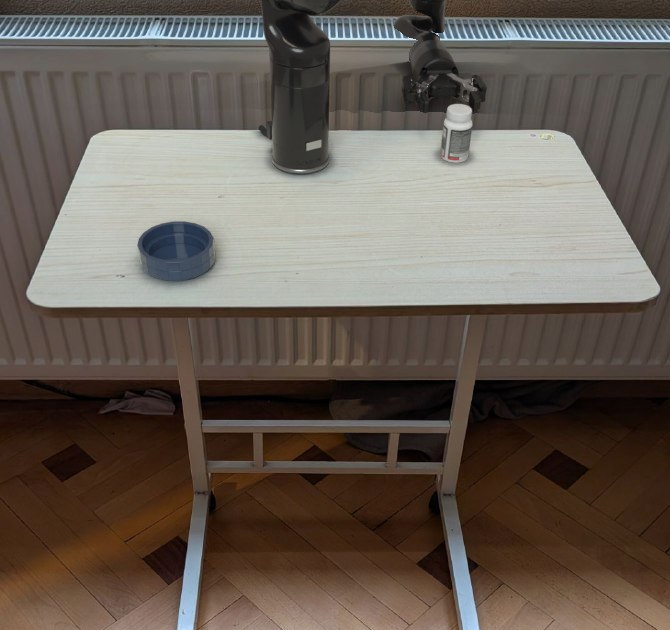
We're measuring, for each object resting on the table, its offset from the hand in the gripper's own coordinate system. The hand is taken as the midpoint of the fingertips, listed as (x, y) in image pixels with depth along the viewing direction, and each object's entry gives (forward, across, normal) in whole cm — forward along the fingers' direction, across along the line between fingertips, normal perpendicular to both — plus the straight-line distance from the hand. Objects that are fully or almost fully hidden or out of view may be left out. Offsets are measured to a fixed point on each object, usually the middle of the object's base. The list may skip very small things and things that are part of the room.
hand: (451, 107), depth 140 cm
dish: (+34, -45, +6) cm, 57 cm away
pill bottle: (+6, 0, +6) cm, 8 cm away
